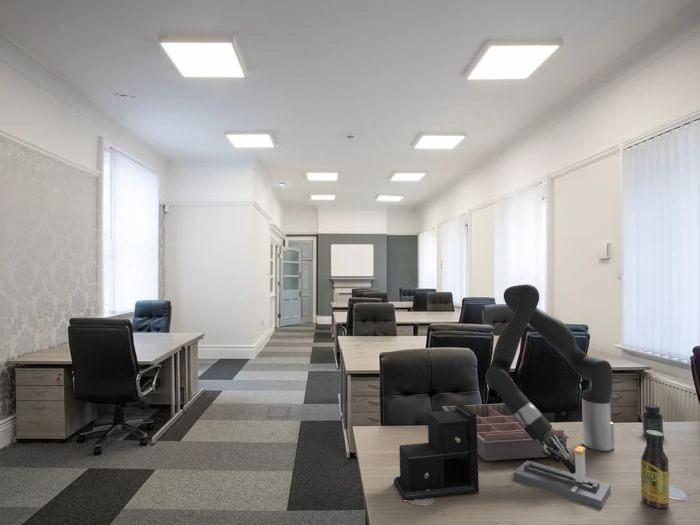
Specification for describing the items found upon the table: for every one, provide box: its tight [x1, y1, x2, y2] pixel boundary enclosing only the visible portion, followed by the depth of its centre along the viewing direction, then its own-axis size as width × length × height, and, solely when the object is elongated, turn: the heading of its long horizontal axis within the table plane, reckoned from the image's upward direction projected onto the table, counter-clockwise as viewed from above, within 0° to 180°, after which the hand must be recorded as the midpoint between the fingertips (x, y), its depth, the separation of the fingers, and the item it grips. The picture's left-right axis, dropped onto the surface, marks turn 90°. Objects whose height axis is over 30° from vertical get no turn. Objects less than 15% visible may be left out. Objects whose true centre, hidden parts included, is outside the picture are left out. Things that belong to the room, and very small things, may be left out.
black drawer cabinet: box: [393, 402, 480, 501], centre depth 121 cm, size 23×11×24 cm, turn 100°
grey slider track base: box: [513, 460, 612, 509], centre depth 122 cm, size 24×12×4 cm, turn 46°
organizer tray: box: [441, 403, 570, 462], centre depth 157 cm, size 32×40×10 cm
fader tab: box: [573, 445, 588, 485], centre depth 119 cm, size 4×4×10 cm
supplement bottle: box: [641, 404, 665, 437], centre depth 161 cm, size 7×7×12 cm
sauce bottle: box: [640, 430, 670, 509], centre depth 112 cm, size 7×6×20 cm
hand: (575, 471), depth 120 cm, fingers closed
